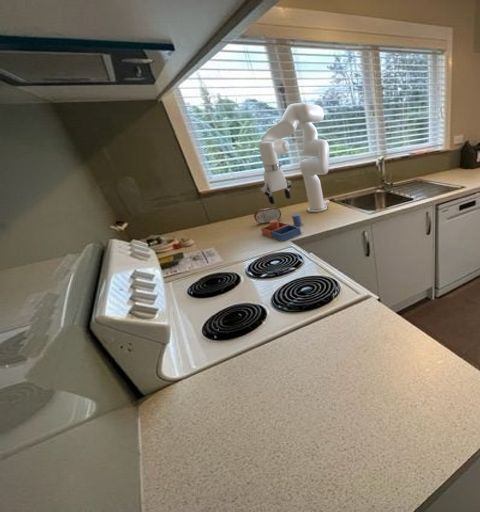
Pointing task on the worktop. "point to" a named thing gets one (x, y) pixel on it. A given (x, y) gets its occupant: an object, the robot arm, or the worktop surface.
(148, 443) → the worktop surface
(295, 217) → the small blue cylinder
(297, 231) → the blue bin
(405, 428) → the worktop surface
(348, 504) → the worktop surface
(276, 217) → the tin
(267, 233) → the terracotta bin
